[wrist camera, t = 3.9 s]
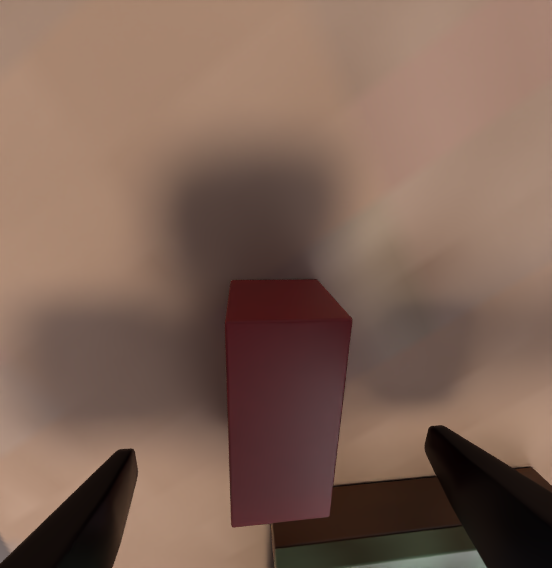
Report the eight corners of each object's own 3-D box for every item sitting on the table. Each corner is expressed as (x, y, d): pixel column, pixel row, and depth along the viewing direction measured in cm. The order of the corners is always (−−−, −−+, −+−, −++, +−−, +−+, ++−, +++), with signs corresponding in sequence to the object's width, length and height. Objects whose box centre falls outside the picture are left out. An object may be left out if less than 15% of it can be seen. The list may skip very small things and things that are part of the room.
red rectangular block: (317, 278, 12) (353, 318, 8) (306, 431, 14) (330, 518, 10) (230, 279, 11) (224, 321, 7) (234, 436, 14) (231, 528, 10)
